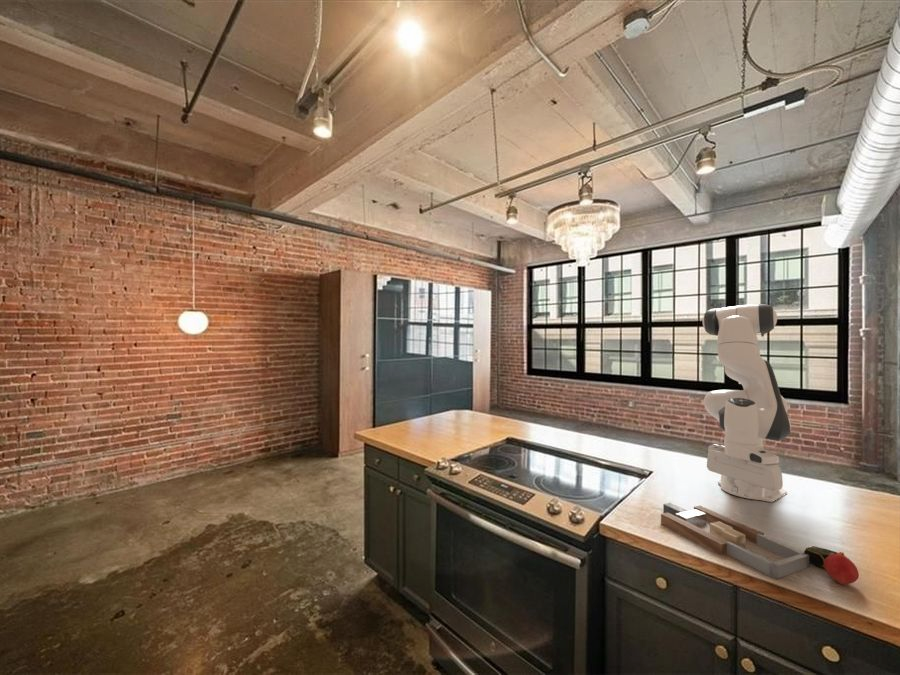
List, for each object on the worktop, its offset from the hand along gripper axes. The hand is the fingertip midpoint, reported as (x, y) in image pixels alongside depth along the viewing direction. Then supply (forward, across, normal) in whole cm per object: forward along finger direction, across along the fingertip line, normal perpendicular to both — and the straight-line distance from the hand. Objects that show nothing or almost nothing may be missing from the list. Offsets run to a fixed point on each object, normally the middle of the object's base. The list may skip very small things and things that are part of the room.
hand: (741, 494), depth 116 cm
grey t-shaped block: (+9, -6, -12) cm, 16 cm away
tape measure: (+11, +22, +2) cm, 24 cm away
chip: (+11, +6, -13) cm, 18 cm away
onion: (+11, +26, -6) cm, 29 cm away
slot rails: (+11, -2, -12) cm, 16 cm away
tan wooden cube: (+11, +2, -12) cm, 16 cm away
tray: (+11, +14, -12) cm, 21 cm away
